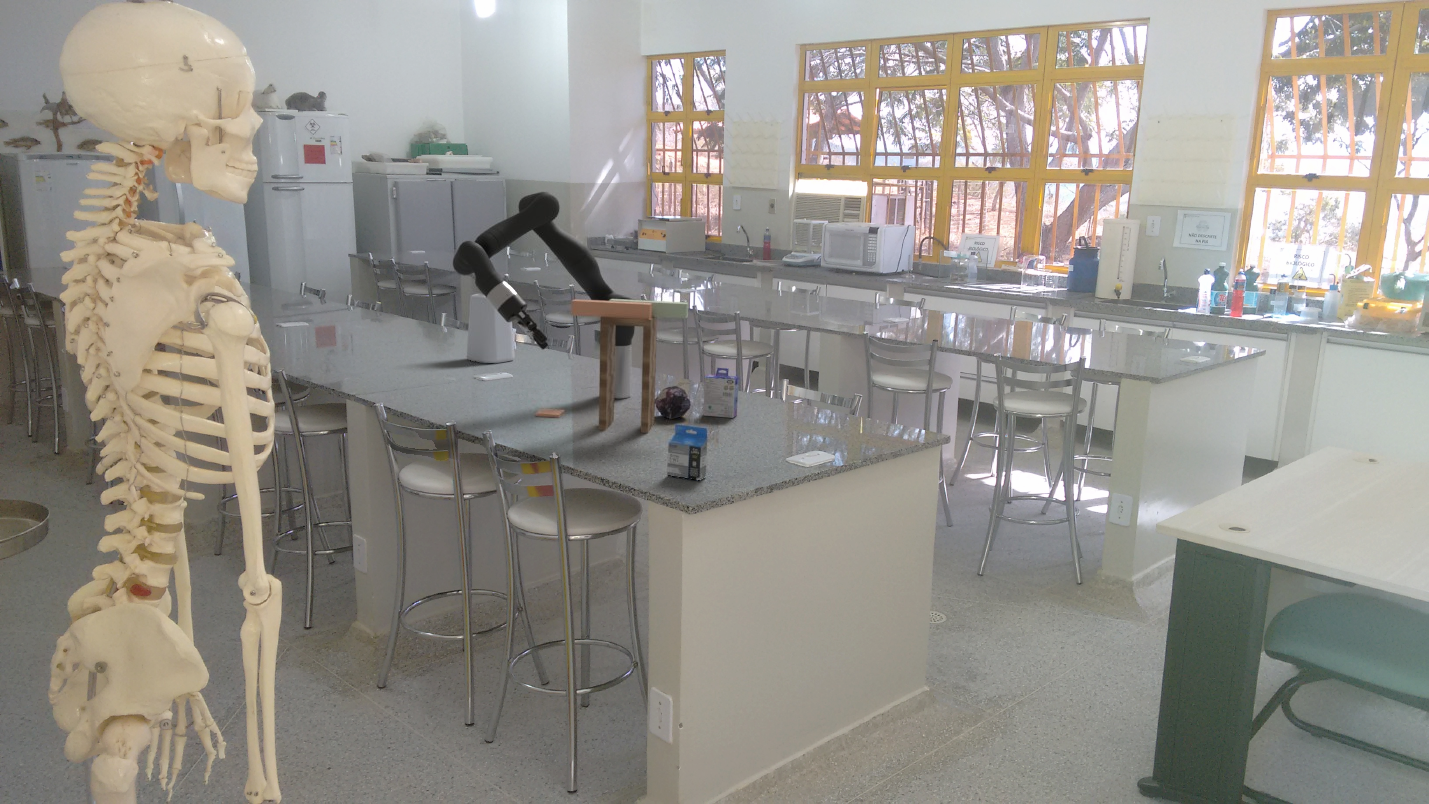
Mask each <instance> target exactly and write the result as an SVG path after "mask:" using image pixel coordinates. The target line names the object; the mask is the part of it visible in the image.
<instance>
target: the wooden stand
mask: <svg viewBox="0 0 1429 804" xmlns="http://www.w3.org/2000/svg"><path fill="white" fill-rule="evenodd" d="M599 320H600V321H599V322H600V323H599V325H600V326H599V327H600V329H599V330H600V333H599V334H600V335H599V336H600V337H599V381H598V382H599V385H598V386H599V390H598V391H599V394H598V396H599V397H598V398H599V399H598V400H599V401H598V431H607V430H608V428H610V426H611V425H612V424H613V423H614V422H615V398H614V381H615V327H616V325H622V326H635V327H642V328H643V329H642V332H643V333H642V337H643V338H642V363H641V364H642V365H641V366H642V367H641V369H642V370H641V371H642V372H641V375H642V377H641V404H640V405H641V407H640V408H641V409H640V411H641V412H640V414H641V415H640V416H641V417H640V433H641V434H649V432H650V431H651V429H652V428H651V427H653V426H654V425H655V414H656V413H655V411H656V409H655V408H656V406H655V399H656V372H657V371H656V370H657V369H656V368H657V367H656V366H657V338H658V337H657V335H658V332H657V331H658V330H657V329H658V317H652V318H650V319H638V318H618V317H600V318H599ZM653 424H654V425H653Z"/></svg>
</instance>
